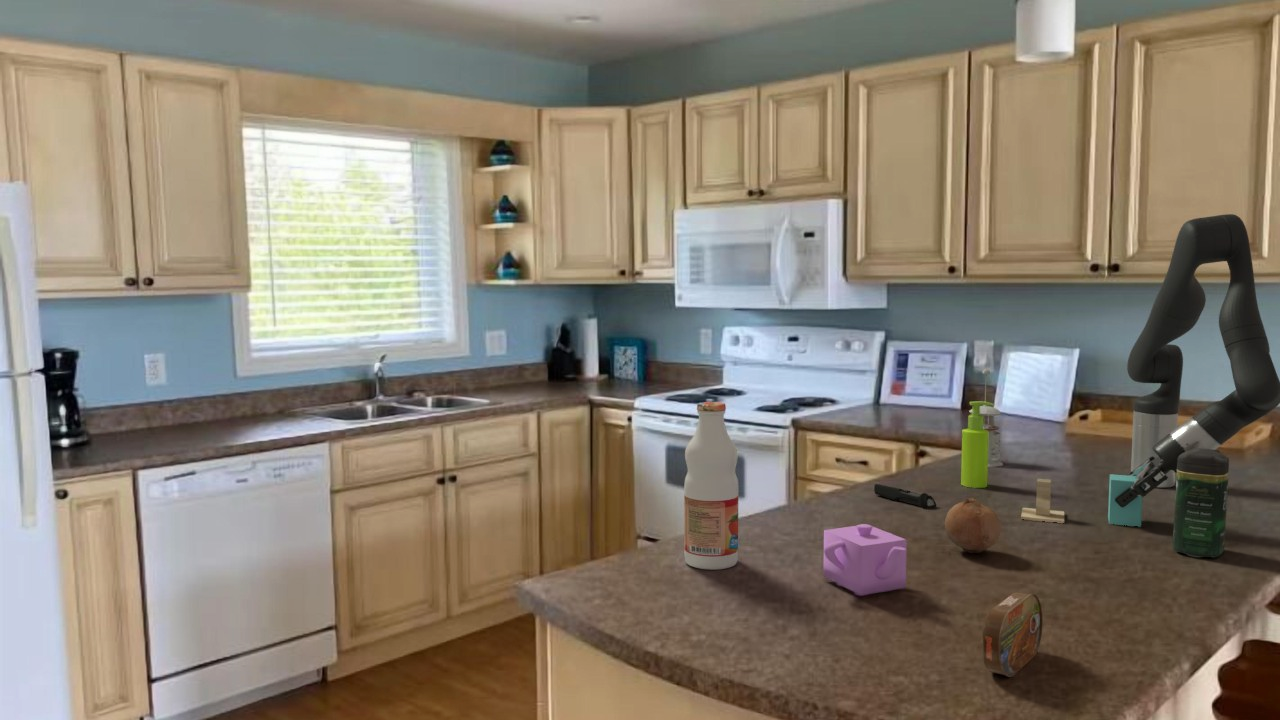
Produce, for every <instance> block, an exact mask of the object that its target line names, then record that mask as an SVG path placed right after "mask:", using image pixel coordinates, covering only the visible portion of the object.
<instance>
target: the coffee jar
mask: <svg viewBox="0 0 1280 720" xmlns="http://www.w3.org/2000/svg"><path fill="white" fill-rule="evenodd" d="M1177 460H1178V462H1177V474H1176V475H1175V495H1174V496H1175V499H1174V518H1173V531H1172V548H1173V550H1174V552H1178V553H1180V554H1184V555H1185V554H1186V555H1187V556H1189V557H1194V558H1204V557H1205V558H1217V557H1220V556H1221V555H1222V554H1223V553H1224V550H1225V538H1226V522H1227V511H1228V510H1227V508H1228V496H1229V495H1228V493H1229V474H1230V471H1229V470H1230V469H1229V467H1230V462H1229V461H1230V459H1229V456H1227V455H1226V454H1223V453H1222V452H1221V451H1220V450H1219V449H1216V450H1213V449H1204V448H1194V449H1192V450H1189V451H1186V452H1184V453H1182V454H1181V455H1179V457H1178V459H1177Z"/></svg>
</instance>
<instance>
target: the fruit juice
mask: <svg viewBox="0 0 1280 720" xmlns="http://www.w3.org/2000/svg"><path fill="white" fill-rule="evenodd" d="M726 407H727V406H726V403H724V402H719V401H704V402H703V401H702V402H699V403H697V406H696V410H697V412H696V413H697V414H698V422H697V426H696V430H695V433H694V435H693V436H692V438H691V439H690V440H689V442H688V443H687V445H686V447H685V451H684V458H685V459H684V460H685V464H686V466H687V472H686V475H685V478H684V486H683V487H684V488H683V497H684V499H683V502H684V503H683V504H684V505H683V507H684V508H683V509H684V510H683V512H684V513H683V518H684V519H683V520H684V521H683V524H684V525H683V526H684V527H683V533H684V534H683V535H684V536H683V537H684V540H683V543H684V545H683V548H684V551H683V552H684V553H683V554H684V560H685V563H686V564H687V565H688V566H690V567H693V568H696V569H701V570H711V571H713V570H725V569H728V568H732V567H734V566H735V565H736V564H738V559H739V480H738V477H737V474H736V467H737V464H738V457H739V456H738V455H739V453H738V447H737V446H736V444H735V443H734V441H733V440H732V439H731V437H730V435H729V434H728V430H727V428H726V423H725V418H724V417H725V414H726V411H727V410H726V409H727V408H726Z"/></svg>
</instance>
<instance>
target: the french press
mask: <svg viewBox="0 0 1280 720" xmlns="http://www.w3.org/2000/svg"><path fill="white" fill-rule="evenodd" d="M982 374H983V375H985V378H984V379H985V382H984V384H985V385H984V389H985V390H984V402H987V401H986V400H987V399H986V398H987V375H990V374H991V371H990V370H989V369H988V368H986V369H983V370H982ZM968 411H969V414H970V415H971V414H972V408H971V409H970V410H968ZM1001 414H1002V411H1000V410H999V409H997V408H996V407H994V406H989V405H980V415H981V416H983V417H984V418H983V429H984V430H987V431H989V442H988V468H989V467H990V468H994V467H1001V466H1003V465H1004V463H1003V462H1002V460H1001V459H1000V457H1001V455H1000V453H1001V433H1000V432H998V430H999V429H1000V427H999V426H997V425H990V417H993V416H995V417H996V416H1001ZM986 416H987V419H986ZM986 421H987V424H986Z"/></svg>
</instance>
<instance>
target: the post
mask: <svg viewBox="0 0 1280 720" xmlns="http://www.w3.org/2000/svg"><path fill="white" fill-rule="evenodd" d="M1051 490H1052V479H1047V478H1045V479H1044V478H1037V479H1036V503H1035V508H1031V507H1030V508H1029V507H1022V509H1021V515H1020V520H1022V519H1024V520H1023V521H1033V522H1034V521H1035V522H1042V521H1045V522H1044V523H1053V522H1057V523H1056V524H1063V523H1064V524H1065V511H1064V510H1052V509H1051V493H1052V492H1051Z"/></svg>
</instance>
